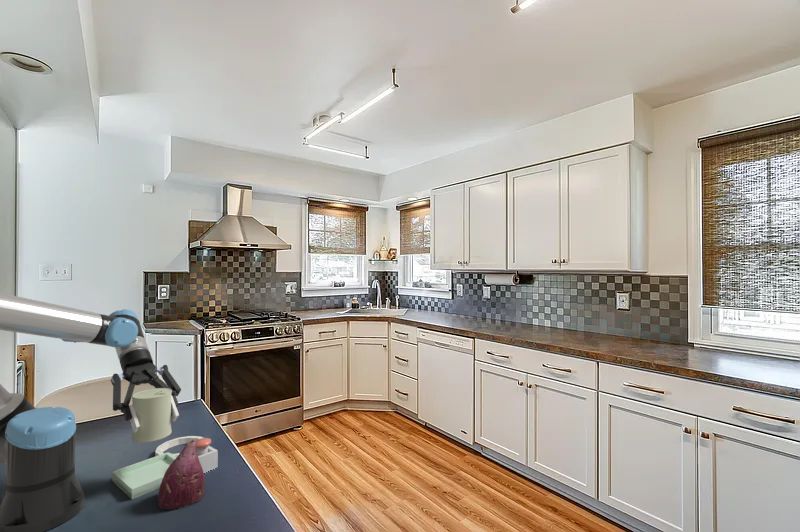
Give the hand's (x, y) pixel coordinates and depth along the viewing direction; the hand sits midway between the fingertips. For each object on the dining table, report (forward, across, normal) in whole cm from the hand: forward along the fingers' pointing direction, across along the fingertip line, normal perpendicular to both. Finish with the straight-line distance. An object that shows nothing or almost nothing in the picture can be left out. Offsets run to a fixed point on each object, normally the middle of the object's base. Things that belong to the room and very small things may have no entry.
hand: (157, 423), depth 103 cm
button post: (+13, +11, +9) cm, 19 cm away
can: (+1, 0, +5) cm, 5 cm away
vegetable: (+20, +1, +2) cm, 20 cm away
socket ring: (+2, +12, +20) cm, 24 cm away
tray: (+9, 0, +13) cm, 16 cm away
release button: (+12, +11, +8) cm, 18 cm away
